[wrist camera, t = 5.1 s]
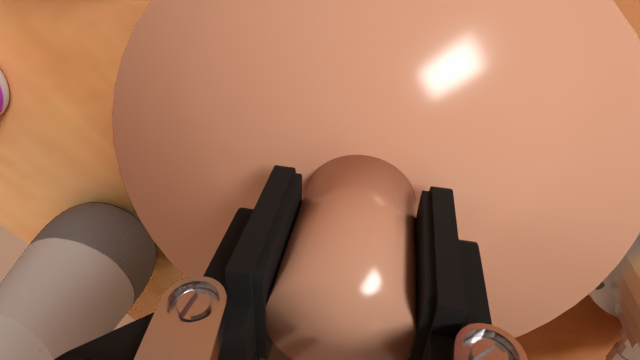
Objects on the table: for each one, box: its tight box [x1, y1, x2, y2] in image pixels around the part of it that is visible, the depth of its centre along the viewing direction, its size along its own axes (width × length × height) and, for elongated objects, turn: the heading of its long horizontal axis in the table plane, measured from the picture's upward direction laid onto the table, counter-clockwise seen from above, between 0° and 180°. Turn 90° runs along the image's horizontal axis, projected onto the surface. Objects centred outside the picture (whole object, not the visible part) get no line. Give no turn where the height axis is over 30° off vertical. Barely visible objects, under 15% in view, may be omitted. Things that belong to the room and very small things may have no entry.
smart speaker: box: [0, 202, 156, 360], centre depth 34 cm, size 10×9×14 cm
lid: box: [112, 0, 640, 360], centre depth 11 cm, size 15×15×6 cm
